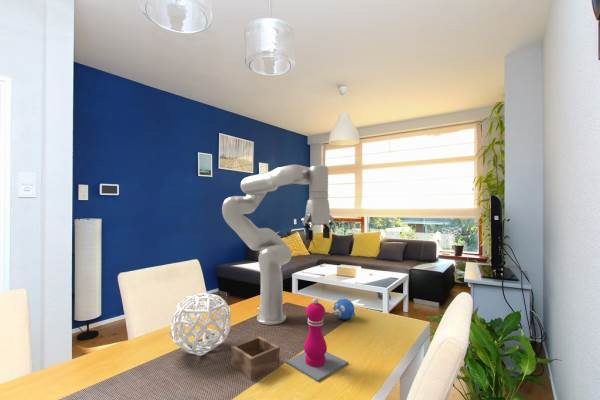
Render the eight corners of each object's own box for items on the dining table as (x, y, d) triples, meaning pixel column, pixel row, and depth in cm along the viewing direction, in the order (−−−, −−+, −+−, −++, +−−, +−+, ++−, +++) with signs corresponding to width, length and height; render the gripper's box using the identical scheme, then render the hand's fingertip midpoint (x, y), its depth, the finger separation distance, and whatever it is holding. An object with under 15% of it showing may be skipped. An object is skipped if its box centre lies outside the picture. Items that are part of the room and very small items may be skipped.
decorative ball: (212, 371, 92) (213, 307, 92) (155, 363, 96) (156, 302, 96) (241, 341, 111) (241, 289, 111) (192, 335, 116) (192, 285, 116)
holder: (231, 365, 95) (231, 346, 95) (259, 354, 102) (259, 336, 102) (251, 380, 87) (251, 359, 87) (279, 366, 95) (279, 347, 95)
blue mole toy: (322, 319, 133) (322, 299, 133) (339, 312, 141) (339, 294, 141) (343, 327, 124) (343, 307, 124) (361, 320, 132) (361, 300, 132)
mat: (285, 362, 97) (285, 361, 97) (315, 348, 106) (315, 346, 106) (317, 382, 87) (317, 379, 87) (348, 363, 96) (348, 362, 96)
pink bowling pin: (325, 369, 92) (325, 302, 92) (301, 366, 93) (302, 301, 94) (328, 357, 99) (328, 295, 99) (306, 354, 101) (306, 294, 101)
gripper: (326, 196, 131) (325, 236, 131) (296, 196, 120) (295, 239, 120) (339, 196, 126) (339, 238, 126) (309, 196, 114) (309, 241, 114)
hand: (318, 239), depth 123 cm, fingers open, 9 cm apart
